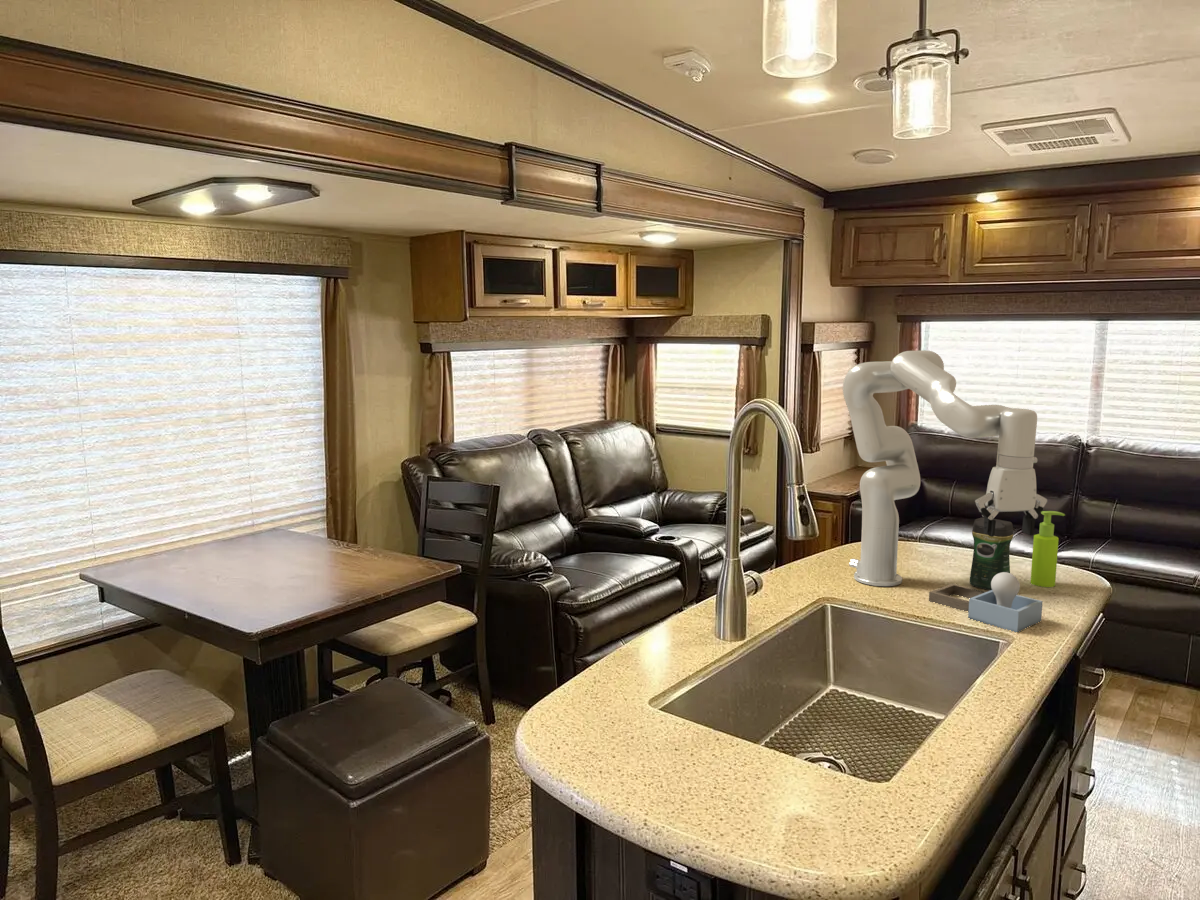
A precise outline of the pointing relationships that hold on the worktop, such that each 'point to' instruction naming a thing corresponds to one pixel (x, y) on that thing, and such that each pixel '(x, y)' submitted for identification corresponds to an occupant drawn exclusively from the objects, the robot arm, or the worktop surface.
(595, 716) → the worktop surface
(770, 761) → the worktop surface
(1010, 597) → the lightbulb
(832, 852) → the worktop surface
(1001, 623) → the box
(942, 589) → the socket collar
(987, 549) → the coffee jar
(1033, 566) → the soap dispenser
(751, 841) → the worktop surface
